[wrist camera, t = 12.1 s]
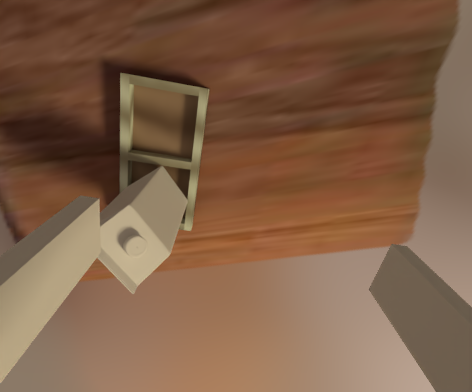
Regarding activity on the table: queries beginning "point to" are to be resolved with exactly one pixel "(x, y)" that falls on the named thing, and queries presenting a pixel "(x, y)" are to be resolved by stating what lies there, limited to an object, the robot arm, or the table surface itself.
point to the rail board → (162, 133)
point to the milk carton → (141, 227)
